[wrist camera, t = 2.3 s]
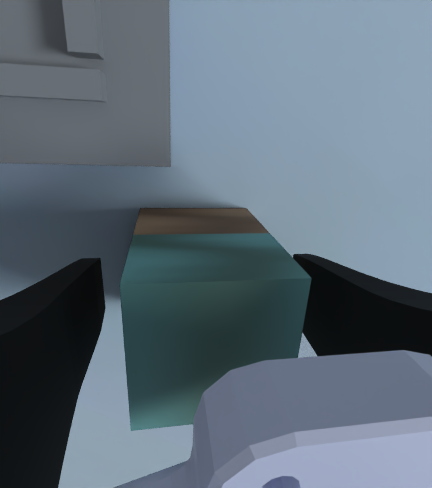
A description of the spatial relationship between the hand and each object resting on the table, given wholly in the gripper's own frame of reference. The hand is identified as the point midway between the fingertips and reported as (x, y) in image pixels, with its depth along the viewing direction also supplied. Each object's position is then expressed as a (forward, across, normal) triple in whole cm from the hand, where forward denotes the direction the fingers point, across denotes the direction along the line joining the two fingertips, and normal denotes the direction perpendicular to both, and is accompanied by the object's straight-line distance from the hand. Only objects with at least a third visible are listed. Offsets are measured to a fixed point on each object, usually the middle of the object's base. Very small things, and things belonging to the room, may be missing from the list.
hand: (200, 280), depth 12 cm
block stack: (+2, 0, 0) cm, 2 cm away
